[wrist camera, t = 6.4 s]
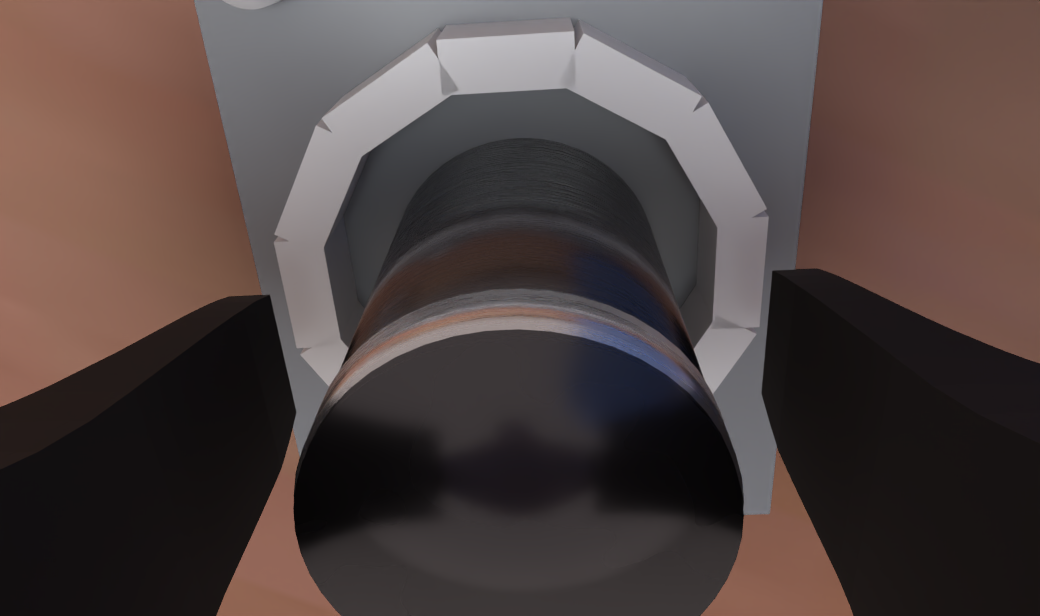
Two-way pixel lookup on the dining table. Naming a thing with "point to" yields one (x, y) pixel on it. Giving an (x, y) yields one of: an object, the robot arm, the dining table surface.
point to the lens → (520, 411)
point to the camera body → (521, 114)
